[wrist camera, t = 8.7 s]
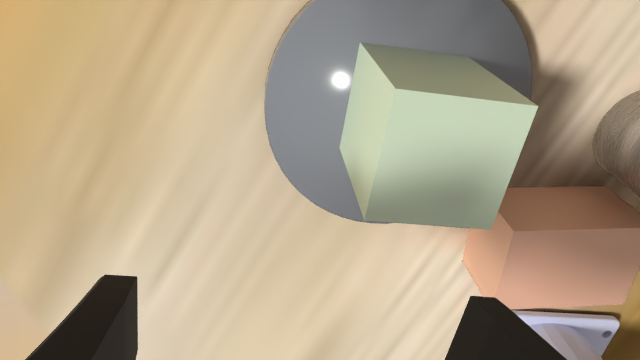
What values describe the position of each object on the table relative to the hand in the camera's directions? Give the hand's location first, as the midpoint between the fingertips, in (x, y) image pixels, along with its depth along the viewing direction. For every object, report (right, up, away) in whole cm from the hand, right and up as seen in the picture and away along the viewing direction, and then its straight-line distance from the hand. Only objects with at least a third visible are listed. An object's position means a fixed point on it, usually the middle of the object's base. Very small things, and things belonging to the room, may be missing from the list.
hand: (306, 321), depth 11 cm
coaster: (+3, +6, +8) cm, 11 cm away
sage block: (+3, +6, +7) cm, 10 cm away
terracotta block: (+10, +1, +12) cm, 16 cm away
